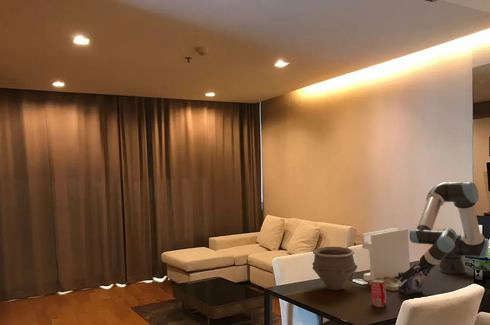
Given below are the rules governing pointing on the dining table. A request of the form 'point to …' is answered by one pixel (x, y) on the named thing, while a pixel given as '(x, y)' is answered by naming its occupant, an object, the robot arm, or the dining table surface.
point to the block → (387, 252)
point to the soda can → (378, 293)
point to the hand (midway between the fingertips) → (407, 282)
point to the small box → (411, 284)
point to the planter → (334, 266)
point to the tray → (389, 283)
